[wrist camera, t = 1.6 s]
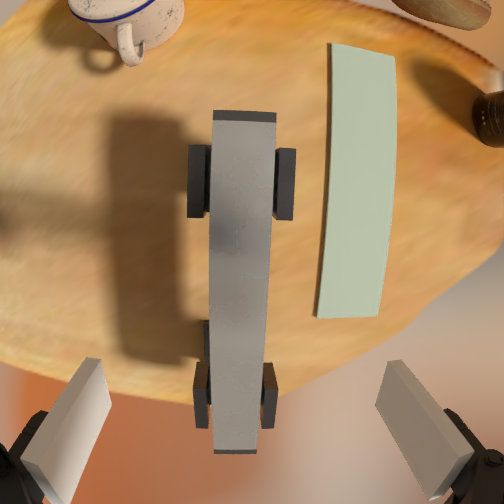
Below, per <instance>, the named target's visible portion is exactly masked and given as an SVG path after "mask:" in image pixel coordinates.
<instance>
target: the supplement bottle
mask: <svg viewBox="0 0 504 504" xmlns="http://www.w3.org/2000/svg"><path fill="white" fill-rule="evenodd" d="M473 121H474V125H475V128H476V130H477V133H478V135H479V136H480V138H481V139H482V140H483V141H484V142H485V143H486V144H487V145H489V146H490V147H494V148H504V90H502V91H498V92H493V93H489V94H485V95H482V96H480V97H479V98H478V99H477V100H476V102H475V104H474V107H473Z"/></svg>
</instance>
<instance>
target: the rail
mask: <svg viewBox="0 0 504 504" xmlns="http://www.w3.org/2000/svg"><path fill="white" fill-rule="evenodd" d="M275 140H276V113H274V112H258V111H235V110H213V128H212V152H211V180H210V223H209V332H210V374H211V402H212V424H213V442H214V454H256V452H257V440H258V428H259V427H258V426H259V415H260V402H261V389H262V375H263V360H264V346H265V331H266V315H267V299H268V282H269V265H270V247H271V228H272V208H273V186H274V164H275Z"/></svg>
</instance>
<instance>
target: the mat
mask: <svg viewBox="0 0 504 504" xmlns="http://www.w3.org/2000/svg"><path fill="white" fill-rule="evenodd" d="M396 145H397V93H396V69H395V57H393V56H390V55H386V54H382V53H378V52H374V51H370V50H366V49H361V48H357V47H352V46H347V45H342V44H336V43H331V136H330V162H329V181H328V198H327V213H326V226H325V238H324V249H323V260H322V270H321V280H320V289H319V298H318V306H317V314H316V317H317V318H347V317H370V316H378V311H379V305H380V300H381V294H382V288H383V282H384V276H385V269H386V262H387V255H388V248H389V240H390V231H391V222H392V211H393V200H394V187H395V170H396Z"/></svg>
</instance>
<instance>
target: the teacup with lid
mask: <svg viewBox="0 0 504 504" xmlns="http://www.w3.org/2000/svg"><path fill="white" fill-rule="evenodd" d="M68 5H69V8H70V10H71V12H72V13H73V14H74V15H75V16H76V17H77V18H79V19H80V20H83V21H85V22H86V23H87V24H88V25H89V26H90V27H91V28H92V29H93V30H95V31H96V32H97V33H98V34H99V35H100V36H101V37H102V38H103V39H104V40H105V41H106V42H107V43H108V44H109V45H110V46H111V47H112V48H114V49H116V50H118V51H119V54H120V57H121V59H122V61H123V62H124V63H125V64H126V65H127V66H130V67H132V66H136V65H139V64H141V63H142V61H143V59H144V54H145V51H148V50H150V49H153V48H155V47H157V46H159V45H161V44H163V43H164V42H166V41H167V40H168V39H169V38H170V37H172V36H173V35H174V33H175V32H176V31H177V30H178V28H179V27H180V25H181V23H182V21H183V18H184V13H185V7H184V2H183V0H68Z"/></svg>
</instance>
